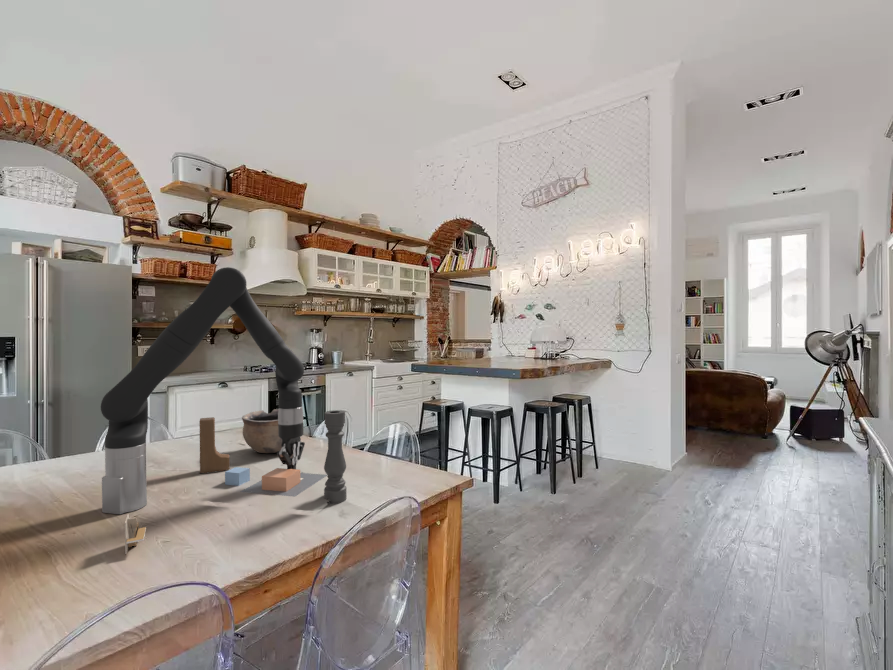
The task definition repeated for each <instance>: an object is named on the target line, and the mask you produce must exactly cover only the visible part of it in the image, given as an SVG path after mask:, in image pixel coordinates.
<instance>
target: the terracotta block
mask: <svg viewBox="0 0 893 670" xmlns="http://www.w3.org/2000/svg"><path fill="white" fill-rule="evenodd" d="M300 473H301V469H297V468H296V469H287V468H282V467H281V468H280V467H276V468H274V469H272V470H270V471H269V472H267V473H265V474H264V475H261V480H262V490H273V491H285V492H287V491H288V490H290V489H291V488H293V487H294V486H296V485H297V484H299V483H300V482H301V481H300Z"/></svg>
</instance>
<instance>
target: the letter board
mask: <svg viewBox="0 0 893 670" xmlns="http://www.w3.org/2000/svg"><path fill="white" fill-rule="evenodd" d="M327 476H328V475H327V474H321V473H320V474H319V473H308V472H307V473H306V472H300V481H301V482H300V483H299V484H297V485H296V486H294V487H293V488H291V489H290V490H288V491H287V492H285V491H273V490H262V479H261V480H259V481H258V482H256V483H254V484H251V485H250V486H248V487H245V488H244V489H242V490H240V493H251V494H260V495H261V494H262V495H272V496H273V495H274V496H281V497H282V496H283V497H297V496H298V495H300V494H301V493H303V492H304V491H306V490H307V489H309V488H310V487H312V486H314V485H315V484H316V483H318V482H320V481H322V480H324V478H326V477H327Z"/></svg>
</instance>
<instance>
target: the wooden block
mask: <svg viewBox="0 0 893 670" xmlns="http://www.w3.org/2000/svg"><path fill="white" fill-rule="evenodd" d="M215 422H216V420H215V417H201V418H200V419H199V473H200V474H208V473H207V472H209V473H216V472H215V471H217V472H225V471H228V470H231V469H230V468H231V467H230V463H231V462H230V454H227V453H220V451H218V450H217V448H216V423H215ZM224 470H225V471H224Z"/></svg>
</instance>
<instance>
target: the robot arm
mask: <svg viewBox="0 0 893 670" xmlns="http://www.w3.org/2000/svg"><path fill="white" fill-rule="evenodd" d="M253 299H254V298H252V295H251V294H250V292H249V290H248V288H247V279H246V277H245V275H244V274H243V273H242V272H241V271H240V270H239V269H237V268H234V267H229V266H228V267H222V268H220V269H217V270H216V271H215V272H213V274H212V276H211V277H210V280H209V282H208V284H207V285H206V287H205V288H204V289H203V291H202V292H201V293H200V295H199V296H198V297H197V298H196V299H195V301H193V303H191V304H190V305H189V306H187V308H186V309H184V310H183V311H182V312H181V313H179V314H178V315H177V316H176V317H175V318H174V319H173V320H172V321H171V322H170V323H169V324H168V325H167V326H166V327H165V329H164V330H162V332H161V333H159V335H158V336H157V337H156V339H155V340H154V341H153V342H152V344H150V346H149V347H148V349H147V350H146V351H145V353H144V354H143V355H142V356H141V358H140V359H139V361H138V362H137V364H136V365H135V366H134V367H133V368H132V369H131V370H130V372H128V373H127V374H126V375H125V376H124V377H123V378H122V379H121V380H120V381H119V382H118V383H117V384H116V385H115V386H113V387H112V388H111V389H110V390H109V391H108V392H107V393H106V394H105V395H104V396H103V397H102V400H101V403H100V412H101V414H102V416H103V417H104V418H105V419H106V420H108V426H107V427H108V428H107V432H106V435H105V437H104V463H105V464H104V466H105V467H104V468H105V469H104V470H105V471H104V473H105V475H103V476H102V477H101V511H102V513H106V514H115V515H123V514H125V513H129V512H134V511H137V510H140V509H142V508H144V507H146V506H147V503H148V501H147V500H148V499H147V496H148V495H147V493H148V490H147V489H148V488H147V486H148V485H147V433H148V428H149V427H148V425H149V421H148V420H149V401H148V398H149V397H150V395H152V393H153V391H154V390H155V389H156V388H157V386H159V384H160V383H161V382H162V381H164V380H165V379H166V378H167V377H168V376H169V375H170V374H172V373H173V372H174V371H175V370H176V369H178V368H179V367H180V365H182V363H184V362H185V361H186V360H187V359H188V358H189V357H190V356H191V354H192V353H193V352H194V351H195V349H196V348H197V347H198V346H199V345H200V343H202V341H203V340H204V338H205V337H206V335H207V334H208V333H209V332H210V330H211V329H212V327H213V325H214V324H215V323H216V321H217V320H218V319H219V318H220V316H221V315H222V314H223V313H225V311H226V310H227V309H228V308H229V307H230V308H231V309H232V310H233V311H234V313H235V314H236V315H237V317H238V318H239V320H240V322H241V323H242V324H243V325H244V327H245V328H246V330H247V332H248V334H249V335H250V336H251V338H252V339H253V341H254V342H255V344H256V345H257V346H258V348H259V350H261V352H262V354H264V356H265V358H267V359H269V360H271V362H272V363H273V364H274V365H275V369H274V370H275V371H274V372H275V375H274V376H275V380H276V381H275V382H276V386H277V392H278V409H279V412H278V436H279V437H280V438H281V439H282V444H281V446H282V449H281V451H277V452H276V455H277V457H278V459H279V461H280V462H281V463H282V465H286V467H287V468H286V469H297V464H298V461H300V460H301V457H302V454H303V451H304V447H305V445H306V444H305V443H306V442H304V441H303V442H302V441H301V438H302V437H303V435H304V410H303V396H302V395H303V392H302V390H301V389H300V387H299V381H300V380H301V378H303V376H304V373H305V366H304V364H303V362H302V360H301V359H300V358H299V357H298V356H297V354H296V353H295V352H294V351H293V350H292V349H291V347H289V346H288V345H287V344H286V342H285V341H284V339H283V337H282V336H281V335H280V332H278V330H277V329H276V328H275V326H274V325H273V324H272V322H271V321H270V320H269V319H268V317H267V316H266V315H265V314H264V313H263V312H262V310H261V309H260V308H259V306H258V305H257V304H256V302H255V301H254V300H253Z"/></svg>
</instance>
